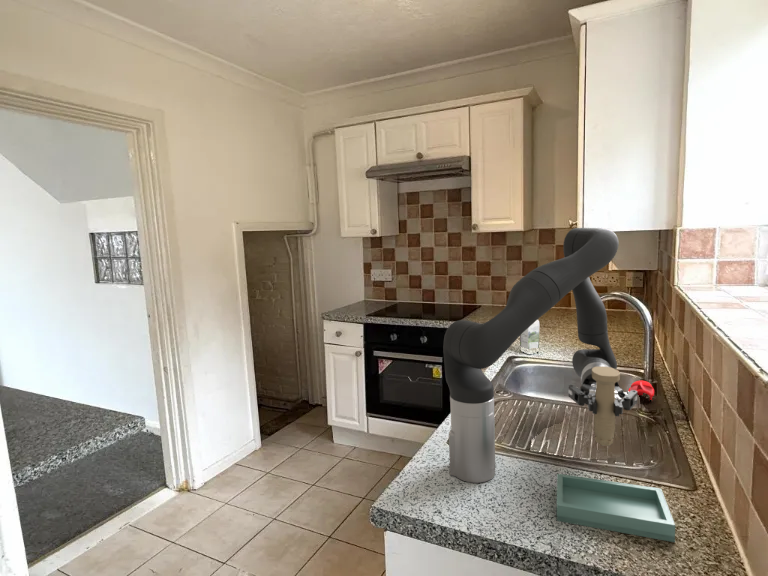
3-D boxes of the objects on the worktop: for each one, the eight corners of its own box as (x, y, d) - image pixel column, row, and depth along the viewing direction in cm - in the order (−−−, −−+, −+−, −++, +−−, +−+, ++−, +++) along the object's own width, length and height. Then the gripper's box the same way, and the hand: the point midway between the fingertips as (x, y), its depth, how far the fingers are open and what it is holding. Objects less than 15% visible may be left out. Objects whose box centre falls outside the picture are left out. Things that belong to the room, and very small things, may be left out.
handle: (613, 437, 91) (615, 367, 90) (621, 451, 85) (623, 377, 83) (588, 435, 93) (589, 365, 91) (593, 449, 87) (595, 375, 85)
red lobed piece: (659, 395, 126) (658, 379, 130) (637, 387, 127) (637, 371, 131) (646, 409, 131) (645, 394, 136) (625, 402, 133) (625, 387, 137)
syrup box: (531, 350, 191) (530, 317, 190) (539, 353, 186) (539, 319, 184) (519, 351, 189) (519, 318, 188) (528, 355, 184) (528, 321, 182)
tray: (556, 520, 79) (556, 505, 78) (557, 487, 89) (557, 473, 88) (674, 542, 72) (675, 525, 72) (660, 503, 82) (661, 488, 82)
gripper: (566, 364, 103) (567, 388, 88) (634, 368, 98) (648, 395, 82) (565, 394, 104) (566, 424, 88) (633, 401, 99) (647, 433, 83)
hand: (606, 410), depth 85 cm, fingers closed on handle, 3 cm apart
